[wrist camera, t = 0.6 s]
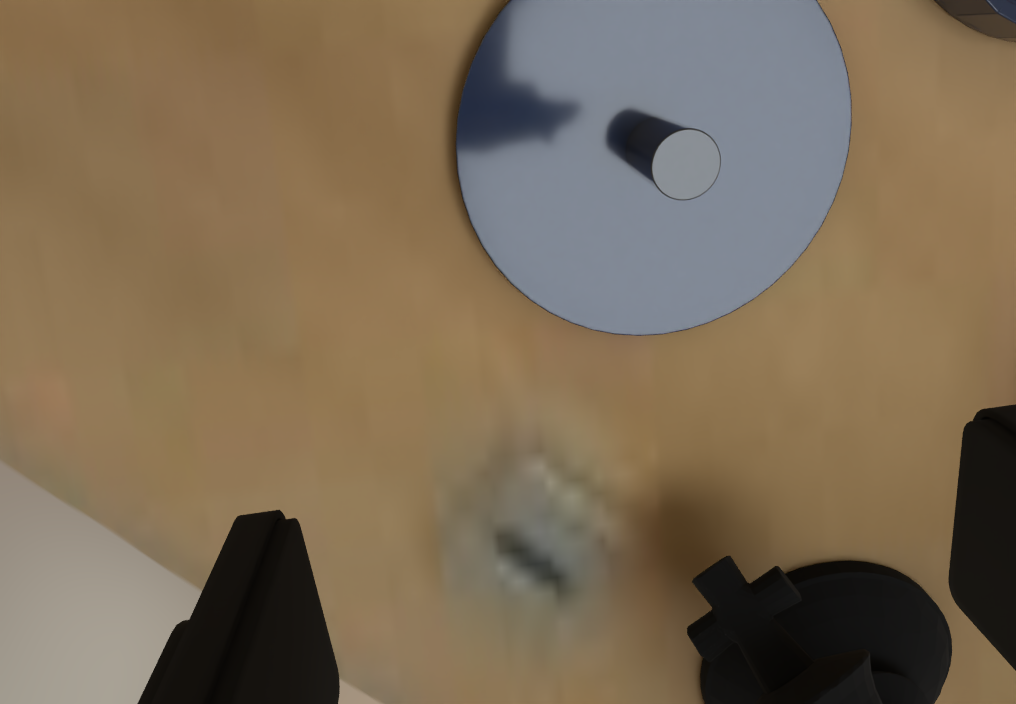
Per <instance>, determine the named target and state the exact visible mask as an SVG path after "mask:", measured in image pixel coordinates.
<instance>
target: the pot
mask: <svg viewBox="0 0 1016 704" xmlns="http://www.w3.org/2000/svg"><path fill="white" fill-rule="evenodd" d="M935 1H936V2H937V3H938V4H939V5H940V6H941V7H942V8H943V9H944V10H946V11H947V12H948V13H949V14H950V15H951V16H953V17H954V18H956V19H957V20H959V21H960V22H962V23H963V24H965V25H966V26H968V27H970V28H972V29H974V30H977V31H979V32H981V33H983V34H985V35H988V36H991V37H994V38H998V39H1002V40H1006V41H1009V42H1016V0H935Z"/></svg>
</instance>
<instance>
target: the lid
mask: <svg viewBox="0 0 1016 704" xmlns="http://www.w3.org/2000/svg"><path fill="white" fill-rule="evenodd" d="M851 126H852V122H851V93H850V86H849V79H848V72H847V68H846V65H845V61H844V57H843V54H842V50H841V47H840V44H839V42H838V39H837V37H836V35H835V32H834V30H833V28H832V26H831V23H830V21H829V19H828V18H827V16H826V15H825V13H824V11H823V10H822V8H821V6H820V5H819V3H818V1H817V0H510V1H509V2H508V3H507V4H506V5H505V7H504V8H503V9H502V10H501V11H500V12H499V14H498V16H497V17H496V19H495V20H494V22H493V23H492V25H491V26H490V28H489V30H488V31H487V33H486V34H485V36H484V37H483V40H482V42H481V44H480V46H479V48H478V50H477V52H476V54H475V56H474V58H473V61H472V63H471V66H470V69H469V72H468V75H467V78H466V81H465V84H464V87H463V90H462V95H461V101H460V106H459V111H458V116H457V130H456V158H457V173H458V178H459V183H460V188H461V193H462V198H463V201H464V204H465V207H466V210H467V213H468V216H469V219H470V222H471V224H472V226H473V228H474V230H475V232H476V234H477V236H478V239H479V241H480V243H481V245H482V246H483V248H484V249H485V251H486V252H487V254H488V255H489V257H490V258H491V260H492V261H493V263H494V264H495V266H496V267H497V268H498V269H499V270H500V271H501V273H502V274H503V275H504V276H505V277H506V278H507V279H508V280H509V282H510V283H511V284H512V285H513V286H515V287H516V288H517V289H518V290H519V291H520V292H521V293H523V294H524V295H525V296H526V297H527V298H528V299H530V300H531V301H533V302H534V303H536V304H537V305H539V306H540V307H542V308H543V309H545V310H546V311H548V312H549V313H551V314H554V315H556V316H558V317H560V318H562V319H564V320H566V321H568V322H570V323H573V324H576V325H579V326H582V327H585V328H588V329H591V330H596V331H601V332H606V333H612V334H620V335H636V336H641V335H657V334H666V333H671V332H677V331H682V330H687V329H690V328H693V327H696V326H700V325H703V324H706V323H709V322H711V321H714V320H716V319H718V318H720V317H722V316H725V315H727V314H729V313H731V312H733V311H735V310H736V309H738V308H740V307H741V306H743V305H745V304H746V303H748V302H750V301H752V300H753V299H754V298H756V297H757V296H758V295H760V294H761V293H762V292H764V291H765V290H766V289H768V288H769V287H770V286H771V285H773V284H774V283H775V282H776V281H777V280H778V279H779V278H780V277H781V276H782V275H783V274H784V273H785V272H786V271H787V270H788V269H789V268H790V267H791V266H792V265H793V264H794V263H795V262H796V260H797V259H798V258H799V257H800V255H801V254H802V253H803V252H804V251H805V249H806V248H807V247H808V245H809V244H810V242H811V241H812V239H813V238H814V236H815V235H816V233H817V232H818V230H819V229H820V227H821V226H822V224H823V222H824V220H825V218H826V216H827V214H828V212H829V210H830V208H831V206H832V204H833V202H834V199H835V196H836V194H837V191H838V188H839V185H840V183H841V180H842V177H843V173H844V169H845V164H846V160H847V156H848V152H849V143H850V134H851Z"/></svg>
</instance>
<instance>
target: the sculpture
mask: <svg viewBox="0 0 1016 704" xmlns="http://www.w3.org/2000/svg"><path fill="white" fill-rule="evenodd" d="M692 583H693V584H694V585H695V586H696V588H697V589H698V590H699V591H700V593H701V594H702V595H703V596H704V598H705V599H706V600H707V601H708V603H709V604H710V605H711V606H712V610H711V611H710V612H708V613H707V614H705V615H704V616H703V617H701V618H700V619H698V620H697V621H695V622H694V623H693V624H691V625H690V626H688V628H687V635H688V636H689V638H690V639H691V641H692V642H693V644H694V646H695V647H696V649H697V650H698V652H699V654H700V655H701V656H702V657H703V661H702V667H701V674H700V678H701V691H702V696H703V700H704V702H705V704H934V703H935V701H936V700H937V698H938V696H939V695H940V693H941V689H942V686H943V684H944V682H945V680H946V677H947V674H948V671H949V667H950V664H951V656H952V639H951V634H950V630H949V626H948V624H947V621H946V619H945V617H944V615H943V613H942V612H941V610H940V609H939V607H938V606H937V605H936V603H935V602H934V601H933V600H932V599H931V598H930V596H929V595H928V594H927V593H926V592H925V591H924V590H923V589H922V588H921V587H920V586H919V585H918V584H917V583H916V582H914V581H913V580H911V579H910V578H909V577H907V576H905V575H903V574H901V573H900V572H898V571H896V570H893V569H890V568H887V567H884V566H881V565H876V564H872V563H867V562H857V561H839V562H829V563H822V564H816V565H812V566H808V567H804V568H801V569H798V570H795V571H792V572H790V573H787V574H784V572H783V571H782V570H781V569H780V568H779V567H778V566H775V567H774V568H772V569H771V570H769V571H768V572H766V573H765V574H763V575H762V576H761V577H759V578H758V579H756V580H755V581H753V582H752V583H750V584H749V583H747V581H746V580H745V578H744V577H743V575H742V574H741V572H740V570H739V569H738V567H737V566H736V564H735V563H734V561H733V559H732V558H731V556H726V557H724V558H722V559H721V560H719V561H718V562H716V563H715V564H713V565H712V566H711V567H709V568H708V569H706V570H705V571H703V572H702V573H701V574H699V575H698V576H696V577H695V578H694V579H693V581H692Z"/></svg>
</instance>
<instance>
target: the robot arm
mask: <svg viewBox="0 0 1016 704" xmlns="http://www.w3.org/2000/svg"><path fill="white" fill-rule="evenodd" d="M949 587H950V591H951V594H952V597H953V599H954V601H955V603H956V604H957V605H958V607H959V608H960V609H961V610H962V611H963V612H964V614H965V615H966V616H967V617H968V618H969V619H970V620H971V621H972V622H973V624H974V625H975V626H976V627H977V628H978V629H979V630H980V631H981V633H982V634H983V635H984V636H985V637H986V638H987V639H988V640H989V641H990V643H991V644H992V645H993V646H994V647H995V648H996V649H997V650H998V651H999V653H1000V654H1001V655H1002V656H1003V657H1004V658H1005V659H1006V660H1007V662H1008V663H1009V664H1010V665H1011V666H1012V667H1013V668H1014V669H1015V670H1016V405H1009V406H1002V407H995V408H988V409H982V410H980V411H979V412H977V414H976V415H975V417H974V419H973V421H970V422H969V423H967V424H966V426H965V427H964V431H963V437H962V447H961V457H960V468H959V478H958V488H957V498H956V508H955V518H954V528H953V538H952V548H951V558H950V568H949ZM339 687H340V686H339V673H338V668H337V664H336V660H335V656H334V652H333V649H332V645H331V641H330V637H329V633H328V630H327V626H326V622H325V618H324V614H323V610H322V607H321V603H320V599H319V595H318V591H317V588H316V584H315V580H314V576H313V572H312V569H311V565H310V561H309V557H308V553H307V550H306V546H305V542H304V538H303V534H302V531H301V527H300V524H299V522H298V520H297V519H296V518H293V519H285V516H284V514H283V513H282V512H281V511H280V510H275V511H268V512H261V513H254V514H247V515H240V516H237V518H236V519H235V521H234V523H233V525H232V528H231V530H230V532H229V534H228V536H227V538H226V541H225V543H224V545H223V547H222V549H221V552H220V554H219V556H218V558H217V560H216V563H215V565H214V567H213V569H212V571H211V574H210V576H209V578H208V580H207V582H206V584H205V587H204V589H203V591H202V593H201V596H200V598H199V600H198V602H197V604H196V607H195V609H194V611H193V613H192V615H191V617H190V620H185V621H182V622H180V623H179V624H177V625H176V627H175V628H174V630H173V631H172V633H171V635H170V637H169V639H168V641H167V643H166V645H165V648H164V649H163V652H162V654H161V656H160V658H159V660H158V662H157V664H156V666H155V668H154V671H153V673H152V675H151V677H150V679H149V681H148V683H147V685H146V687H145V690H144V691H143V694H142V696H141V698H140V700H139V702H138V704H338V699H339Z"/></svg>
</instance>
